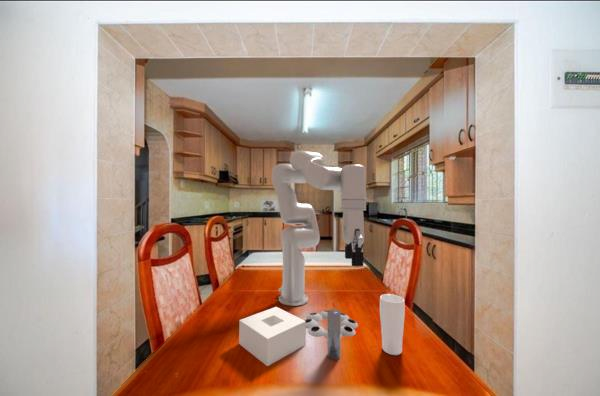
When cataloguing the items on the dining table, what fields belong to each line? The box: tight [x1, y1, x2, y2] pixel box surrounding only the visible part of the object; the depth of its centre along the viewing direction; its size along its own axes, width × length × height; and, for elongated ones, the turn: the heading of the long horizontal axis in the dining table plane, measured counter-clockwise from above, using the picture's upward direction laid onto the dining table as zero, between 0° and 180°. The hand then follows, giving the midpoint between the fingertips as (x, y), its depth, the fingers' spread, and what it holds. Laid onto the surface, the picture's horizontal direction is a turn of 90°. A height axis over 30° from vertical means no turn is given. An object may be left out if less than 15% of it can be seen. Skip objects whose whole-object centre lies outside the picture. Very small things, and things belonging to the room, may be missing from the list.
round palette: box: [303, 309, 359, 339], centre depth 86 cm, size 20×20×2 cm
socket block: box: [238, 306, 307, 367], centre depth 74 cm, size 14×14×7 cm
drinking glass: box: [379, 293, 406, 356], centre depth 71 cm, size 7×7×15 cm
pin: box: [326, 308, 342, 361], centre depth 69 cm, size 4×4×12 cm
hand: (353, 262), depth 76 cm, fingers open, 9 cm apart
